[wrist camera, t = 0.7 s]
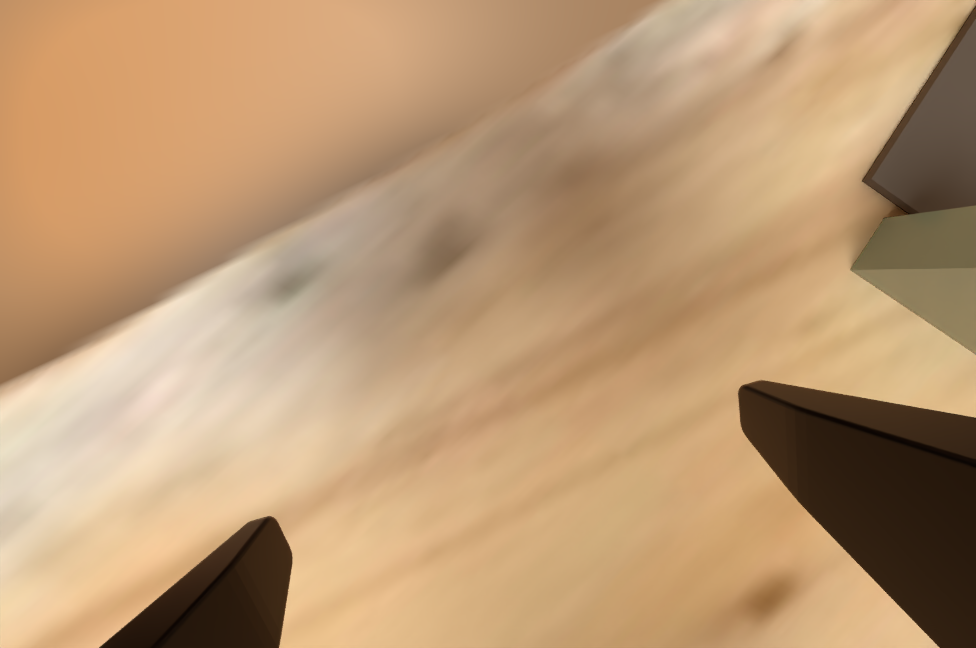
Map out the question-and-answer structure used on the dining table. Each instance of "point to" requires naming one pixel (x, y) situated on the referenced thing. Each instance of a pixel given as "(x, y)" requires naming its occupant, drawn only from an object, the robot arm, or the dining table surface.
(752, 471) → the dining table surface
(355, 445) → the dining table surface
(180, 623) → the robot arm
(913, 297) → the glazed tile block
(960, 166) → the mat
